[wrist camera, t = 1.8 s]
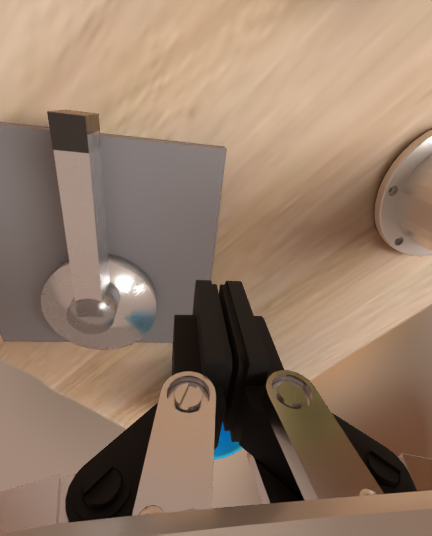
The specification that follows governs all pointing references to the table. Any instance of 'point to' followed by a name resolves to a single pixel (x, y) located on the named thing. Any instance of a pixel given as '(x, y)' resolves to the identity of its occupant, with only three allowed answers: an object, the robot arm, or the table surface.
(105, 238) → the lever
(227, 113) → the table surface
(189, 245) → the stand base
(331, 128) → the table surface
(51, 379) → the table surface
